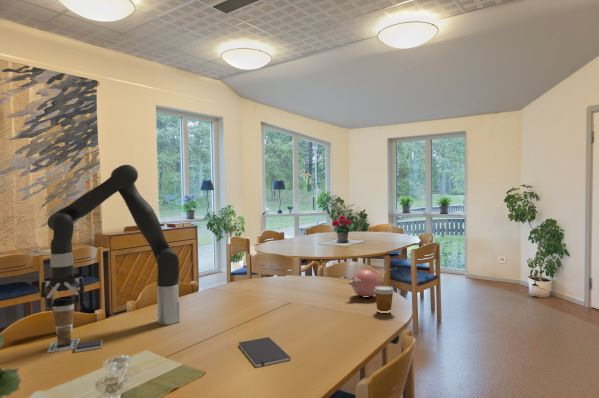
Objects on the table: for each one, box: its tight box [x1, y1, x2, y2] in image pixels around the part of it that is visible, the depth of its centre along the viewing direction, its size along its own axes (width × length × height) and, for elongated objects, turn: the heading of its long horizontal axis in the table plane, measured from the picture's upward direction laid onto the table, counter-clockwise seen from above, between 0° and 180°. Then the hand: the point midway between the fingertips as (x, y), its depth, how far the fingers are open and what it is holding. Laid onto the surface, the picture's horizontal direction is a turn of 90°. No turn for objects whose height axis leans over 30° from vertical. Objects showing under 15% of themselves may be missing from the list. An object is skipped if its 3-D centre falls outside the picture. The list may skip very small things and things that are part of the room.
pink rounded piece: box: [347, 269, 381, 297], centre depth 213 cm, size 15×20×15 cm
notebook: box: [238, 336, 291, 368], centre depth 142 cm, size 13×2×21 cm
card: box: [46, 338, 81, 354], centre depth 150 cm, size 10×10×1 cm
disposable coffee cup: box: [374, 285, 395, 311], centre depth 187 cm, size 10×10×12 cm
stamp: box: [56, 326, 73, 348], centre depth 150 cm, size 4×4×6 cm
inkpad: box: [74, 339, 104, 353], centre depth 148 cm, size 9×6×1 cm
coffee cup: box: [52, 295, 75, 335], centre depth 164 cm, size 8×8×15 cm
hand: (63, 305), depth 150 cm, fingers open, 8 cm apart
